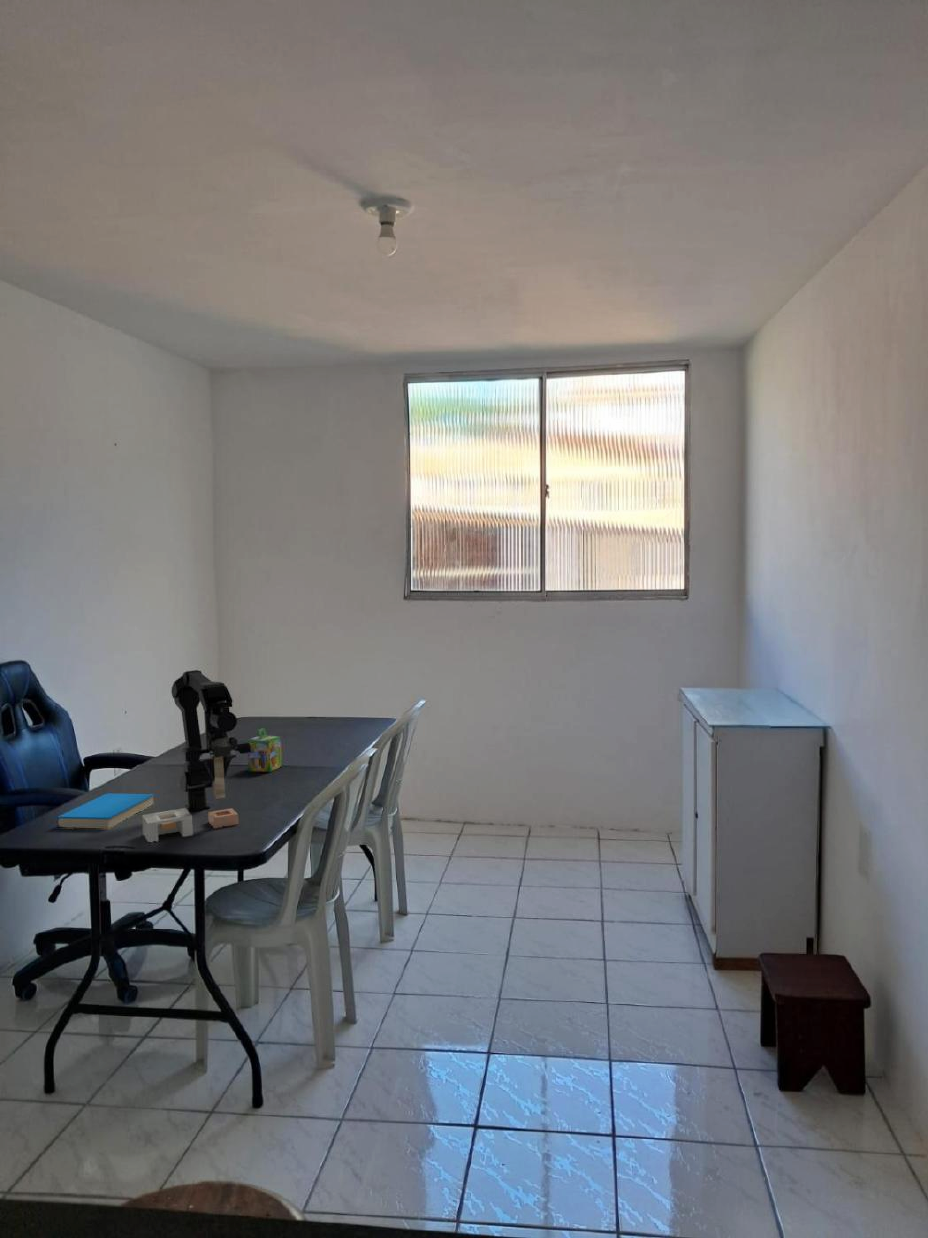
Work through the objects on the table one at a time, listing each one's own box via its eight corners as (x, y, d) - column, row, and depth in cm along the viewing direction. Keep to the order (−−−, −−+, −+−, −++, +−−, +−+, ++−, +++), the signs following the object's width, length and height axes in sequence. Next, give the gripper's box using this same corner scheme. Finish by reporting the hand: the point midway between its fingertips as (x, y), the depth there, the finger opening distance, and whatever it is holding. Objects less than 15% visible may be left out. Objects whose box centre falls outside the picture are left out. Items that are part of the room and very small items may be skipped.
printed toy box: (270, 773, 325) (267, 732, 324) (247, 771, 328) (245, 731, 327) (283, 766, 334) (281, 726, 332) (261, 765, 337) (259, 726, 335)
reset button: (160, 826, 257) (160, 821, 256) (173, 824, 258) (173, 819, 258) (162, 830, 253) (162, 824, 253) (176, 827, 255) (175, 822, 255)
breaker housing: (143, 834, 258) (141, 815, 258) (186, 827, 264) (185, 808, 263) (148, 843, 250) (147, 823, 249) (193, 835, 255) (192, 816, 255)
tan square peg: (214, 796, 266) (211, 756, 265) (223, 795, 267) (220, 754, 266) (216, 798, 263) (213, 757, 262) (225, 797, 264) (222, 756, 264)
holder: (208, 822, 268) (208, 812, 267) (232, 818, 271) (231, 808, 271) (214, 828, 261) (213, 818, 261) (238, 824, 265) (237, 814, 264)
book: (154, 794, 288) (109, 816, 264) (154, 807, 289) (110, 831, 264) (104, 793, 292) (56, 815, 267) (105, 806, 292) (57, 829, 267)
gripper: (188, 735, 252) (191, 791, 253) (255, 727, 261) (258, 780, 262) (180, 729, 262) (183, 782, 263) (244, 721, 270) (247, 773, 272)
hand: (218, 780), depth 265 cm, fingers closed on tan square peg, 3 cm apart
